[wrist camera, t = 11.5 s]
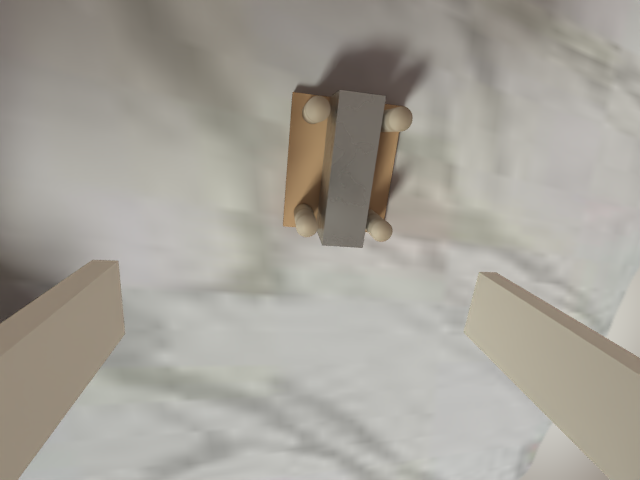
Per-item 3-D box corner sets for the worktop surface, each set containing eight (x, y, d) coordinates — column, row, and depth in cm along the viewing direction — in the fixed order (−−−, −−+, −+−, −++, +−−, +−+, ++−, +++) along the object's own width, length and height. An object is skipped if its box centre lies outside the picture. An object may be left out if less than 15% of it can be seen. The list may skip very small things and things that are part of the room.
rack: (283, 223, 32) (283, 242, 26) (292, 93, 29) (295, 83, 23) (379, 230, 34) (399, 249, 28) (399, 107, 30) (427, 100, 24)
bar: (350, 231, 32) (362, 247, 27) (315, 228, 32) (322, 245, 27) (368, 102, 29) (385, 96, 24) (329, 97, 28) (339, 89, 23)
